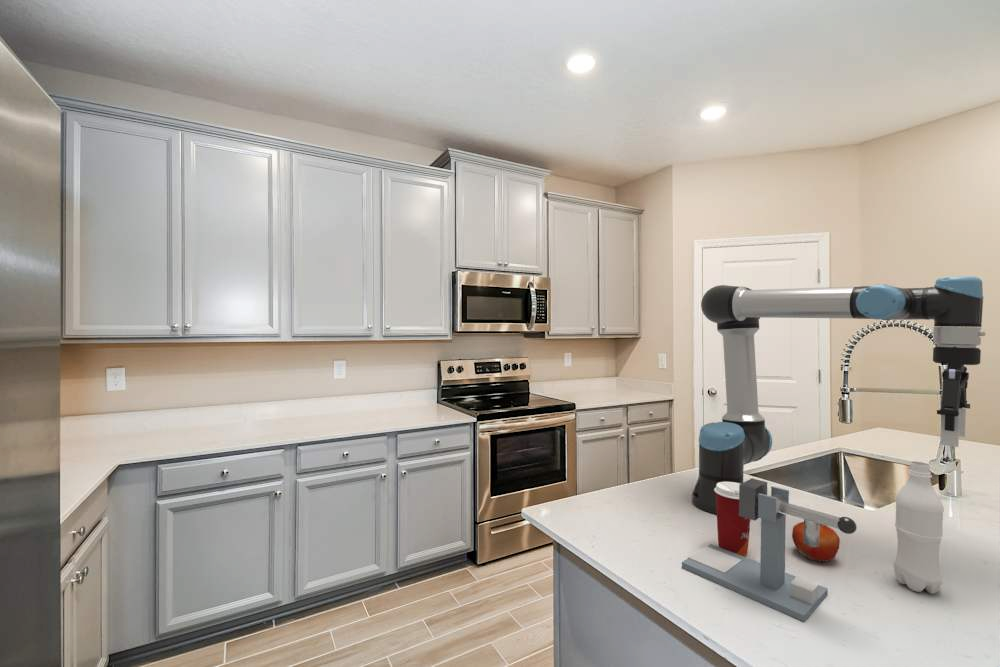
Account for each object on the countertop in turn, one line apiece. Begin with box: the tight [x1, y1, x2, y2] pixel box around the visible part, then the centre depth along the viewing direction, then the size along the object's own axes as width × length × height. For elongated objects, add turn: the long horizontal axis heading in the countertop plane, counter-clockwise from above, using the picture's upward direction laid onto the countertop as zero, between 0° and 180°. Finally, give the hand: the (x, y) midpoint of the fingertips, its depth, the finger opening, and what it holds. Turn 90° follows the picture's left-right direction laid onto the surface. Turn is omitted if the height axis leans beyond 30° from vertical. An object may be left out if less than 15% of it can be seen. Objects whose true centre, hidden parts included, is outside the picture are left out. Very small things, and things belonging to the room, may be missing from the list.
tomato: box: [791, 521, 841, 562], centre depth 103 cm, size 9×9×8 cm
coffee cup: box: [714, 482, 751, 557], centre depth 105 cm, size 8×8×15 cm
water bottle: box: [893, 460, 945, 595], centre depth 91 cm, size 7×7×25 cm
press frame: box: [681, 485, 829, 623], centre depth 93 cm, size 23×13×20 cm, turn 39°
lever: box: [739, 477, 857, 547], centre depth 87 cm, size 18×6×9 cm, turn 39°
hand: (953, 440), depth 102 cm, fingers open, 13 cm apart
